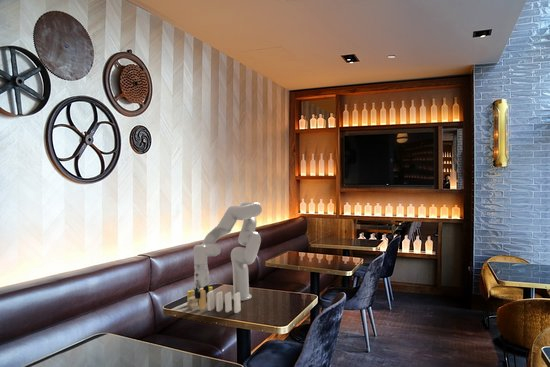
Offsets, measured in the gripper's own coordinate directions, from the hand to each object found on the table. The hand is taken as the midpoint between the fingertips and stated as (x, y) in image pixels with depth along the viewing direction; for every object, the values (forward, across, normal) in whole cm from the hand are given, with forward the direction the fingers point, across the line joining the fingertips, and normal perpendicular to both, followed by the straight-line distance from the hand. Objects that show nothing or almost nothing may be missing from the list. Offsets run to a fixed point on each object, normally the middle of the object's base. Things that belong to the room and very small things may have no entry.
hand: (202, 296), depth 226 cm
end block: (+7, 0, +6) cm, 10 cm away
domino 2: (+7, 0, -6) cm, 9 cm away
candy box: (+8, +10, +7) cm, 15 cm away
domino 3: (+7, 0, -11) cm, 13 cm away
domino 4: (+7, 0, -16) cm, 18 cm away
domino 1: (+7, 0, 0) cm, 7 cm away
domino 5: (+7, 0, -22) cm, 23 cm away
